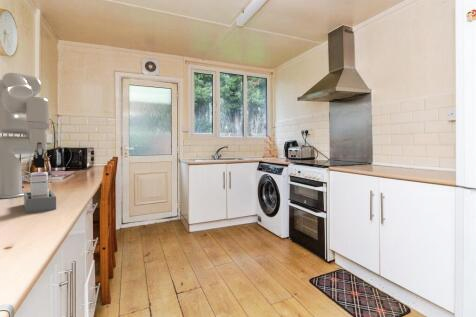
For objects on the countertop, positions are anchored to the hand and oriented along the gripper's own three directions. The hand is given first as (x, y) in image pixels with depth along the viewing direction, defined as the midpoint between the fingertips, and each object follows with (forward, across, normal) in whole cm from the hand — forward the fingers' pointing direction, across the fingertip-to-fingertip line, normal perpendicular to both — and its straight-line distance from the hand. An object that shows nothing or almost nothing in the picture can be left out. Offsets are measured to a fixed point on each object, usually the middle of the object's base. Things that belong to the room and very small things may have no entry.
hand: (38, 166), depth 108 cm
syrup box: (+17, +1, 0) cm, 17 cm away
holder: (+18, -4, 0) cm, 19 cm away
